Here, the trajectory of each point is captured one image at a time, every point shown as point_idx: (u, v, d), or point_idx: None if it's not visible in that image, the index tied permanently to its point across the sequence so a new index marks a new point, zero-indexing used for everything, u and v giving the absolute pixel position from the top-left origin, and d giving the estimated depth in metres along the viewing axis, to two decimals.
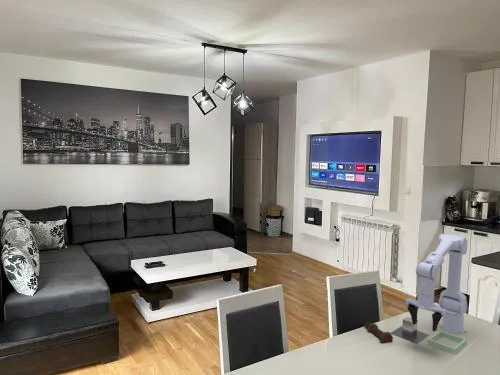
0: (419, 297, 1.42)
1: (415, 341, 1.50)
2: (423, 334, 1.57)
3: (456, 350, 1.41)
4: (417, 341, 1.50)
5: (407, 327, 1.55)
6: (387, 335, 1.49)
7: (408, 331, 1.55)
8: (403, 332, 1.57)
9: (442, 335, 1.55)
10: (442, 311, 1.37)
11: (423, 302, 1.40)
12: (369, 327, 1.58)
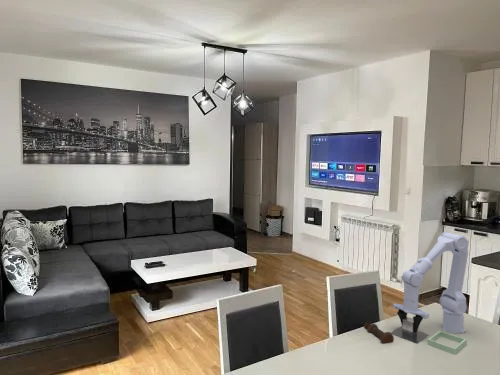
0: (405, 302, 1.55)
1: (415, 341, 1.50)
2: (423, 334, 1.57)
3: (456, 350, 1.41)
4: (417, 341, 1.50)
5: (407, 327, 1.55)
6: (388, 335, 1.49)
7: (408, 331, 1.55)
8: (403, 332, 1.57)
9: (442, 335, 1.55)
10: (425, 315, 1.50)
11: (408, 307, 1.54)
12: (369, 327, 1.58)
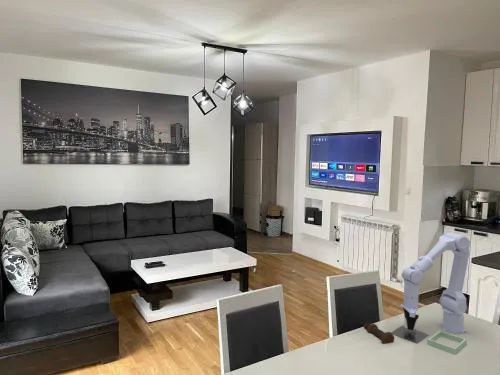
0: None
1: (415, 341, 1.50)
2: (423, 334, 1.57)
3: (456, 350, 1.41)
4: (417, 341, 1.50)
5: (404, 322, 1.57)
6: (389, 335, 1.49)
7: (404, 326, 1.57)
8: None
9: (442, 335, 1.55)
10: (409, 312, 1.50)
11: None
12: (369, 327, 1.58)
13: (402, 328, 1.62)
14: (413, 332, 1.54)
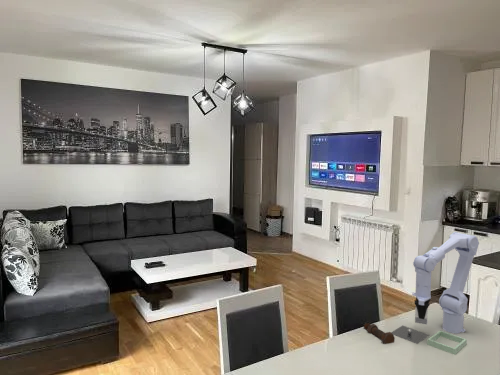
0: None
1: (415, 341, 1.50)
2: (423, 334, 1.57)
3: (456, 350, 1.41)
4: (417, 341, 1.50)
5: None
6: (389, 335, 1.49)
7: None
8: None
9: (442, 335, 1.55)
10: (418, 300, 1.48)
11: None
12: (369, 328, 1.58)
13: (402, 328, 1.62)
14: (424, 322, 1.51)
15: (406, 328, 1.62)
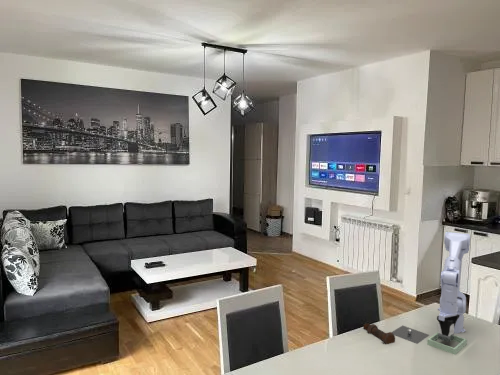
0: None
1: (415, 341, 1.50)
2: (423, 334, 1.57)
3: (456, 350, 1.41)
4: (417, 341, 1.50)
5: None
6: (390, 335, 1.49)
7: None
8: None
9: None
10: None
11: None
12: (369, 328, 1.57)
13: (402, 328, 1.62)
14: (447, 339, 1.46)
15: (406, 328, 1.62)
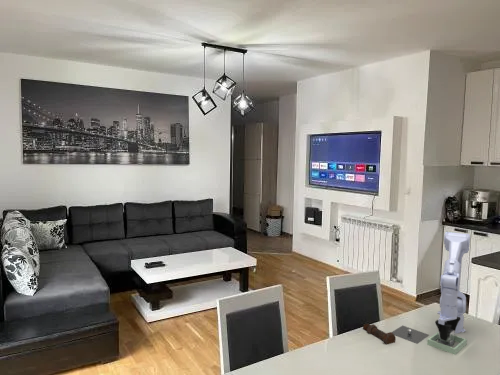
0: None
1: (415, 341, 1.50)
2: (423, 334, 1.57)
3: (456, 350, 1.41)
4: (417, 341, 1.50)
5: None
6: (391, 336, 1.48)
7: None
8: None
9: None
10: None
11: None
12: (369, 328, 1.57)
13: (402, 328, 1.62)
14: None
15: (406, 328, 1.62)
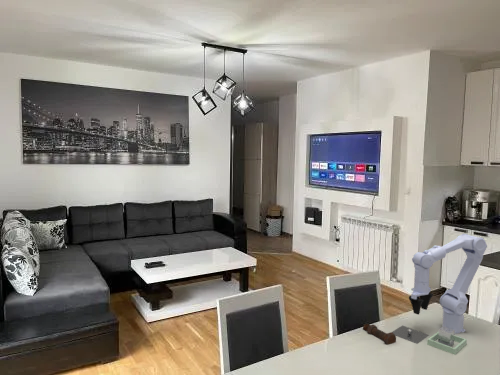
0: None
1: (415, 341, 1.50)
2: (423, 334, 1.57)
3: (456, 350, 1.41)
4: (417, 341, 1.50)
5: None
6: (391, 336, 1.48)
7: None
8: None
9: None
10: None
11: None
12: (369, 329, 1.57)
13: (402, 328, 1.62)
14: None
15: (406, 328, 1.62)
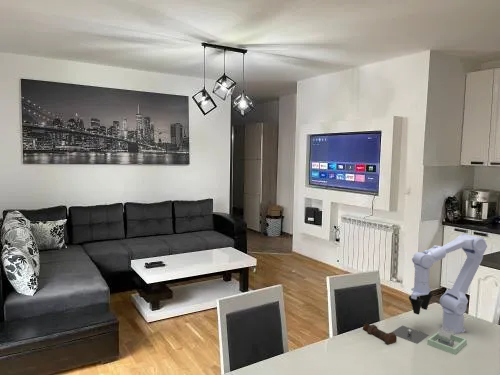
0: None
1: (415, 341, 1.50)
2: (423, 334, 1.57)
3: (456, 350, 1.41)
4: (417, 341, 1.50)
5: None
6: (392, 336, 1.48)
7: None
8: None
9: None
10: None
11: None
12: (370, 329, 1.57)
13: (402, 328, 1.62)
14: None
15: (406, 328, 1.62)
